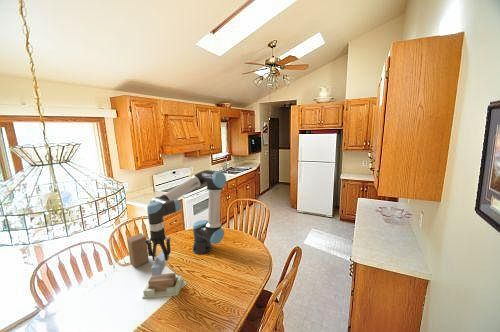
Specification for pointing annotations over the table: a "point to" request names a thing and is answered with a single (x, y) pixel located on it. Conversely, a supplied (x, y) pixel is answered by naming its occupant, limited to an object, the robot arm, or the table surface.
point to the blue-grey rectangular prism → (158, 265)
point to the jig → (169, 291)
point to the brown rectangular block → (162, 281)
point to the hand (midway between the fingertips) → (161, 265)
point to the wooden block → (137, 249)
